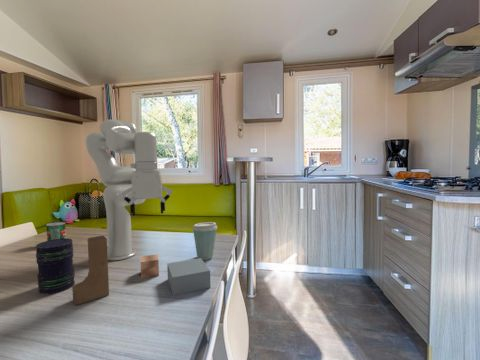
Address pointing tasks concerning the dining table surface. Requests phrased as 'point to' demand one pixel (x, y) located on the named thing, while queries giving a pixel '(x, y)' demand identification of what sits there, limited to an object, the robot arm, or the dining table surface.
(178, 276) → the slate box
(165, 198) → the robot arm
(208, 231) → the disposable coffee cup
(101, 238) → the wooden block
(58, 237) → the canned tomato
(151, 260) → the terracotta cube
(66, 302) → the dining table surface
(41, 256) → the storage jar
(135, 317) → the dining table surface
